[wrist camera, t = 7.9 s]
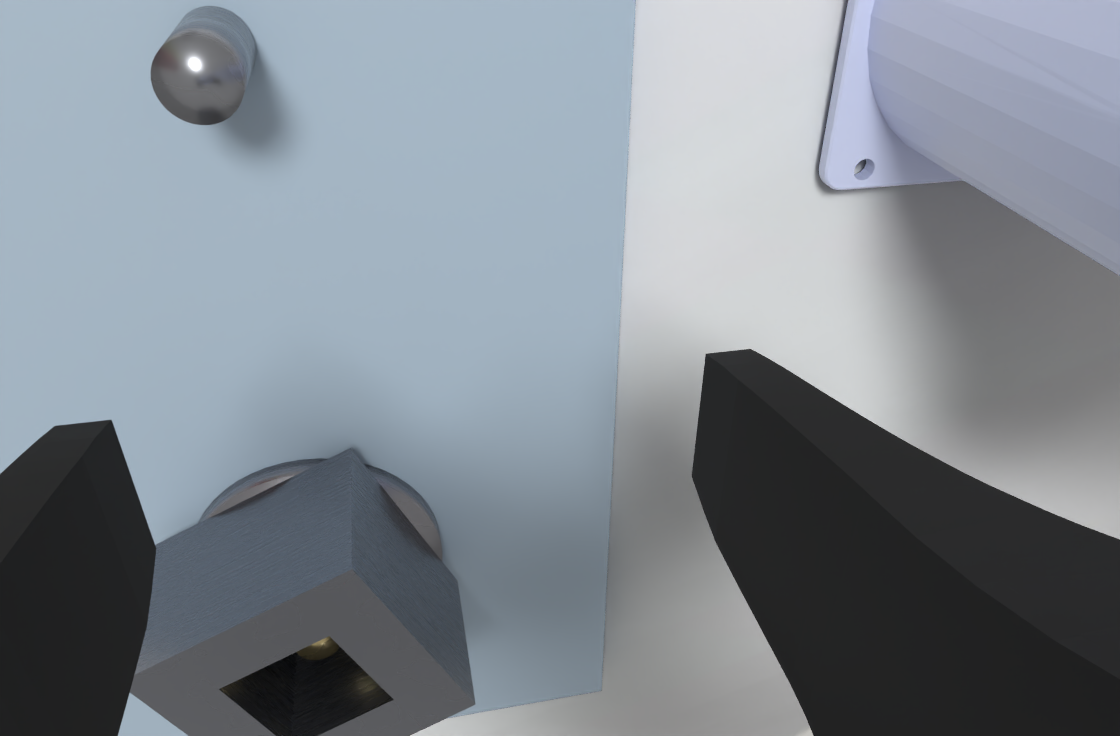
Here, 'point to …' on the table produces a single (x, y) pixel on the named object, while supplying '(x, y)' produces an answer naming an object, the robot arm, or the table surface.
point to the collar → (305, 616)
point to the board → (339, 280)
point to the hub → (273, 475)
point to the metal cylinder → (204, 66)
